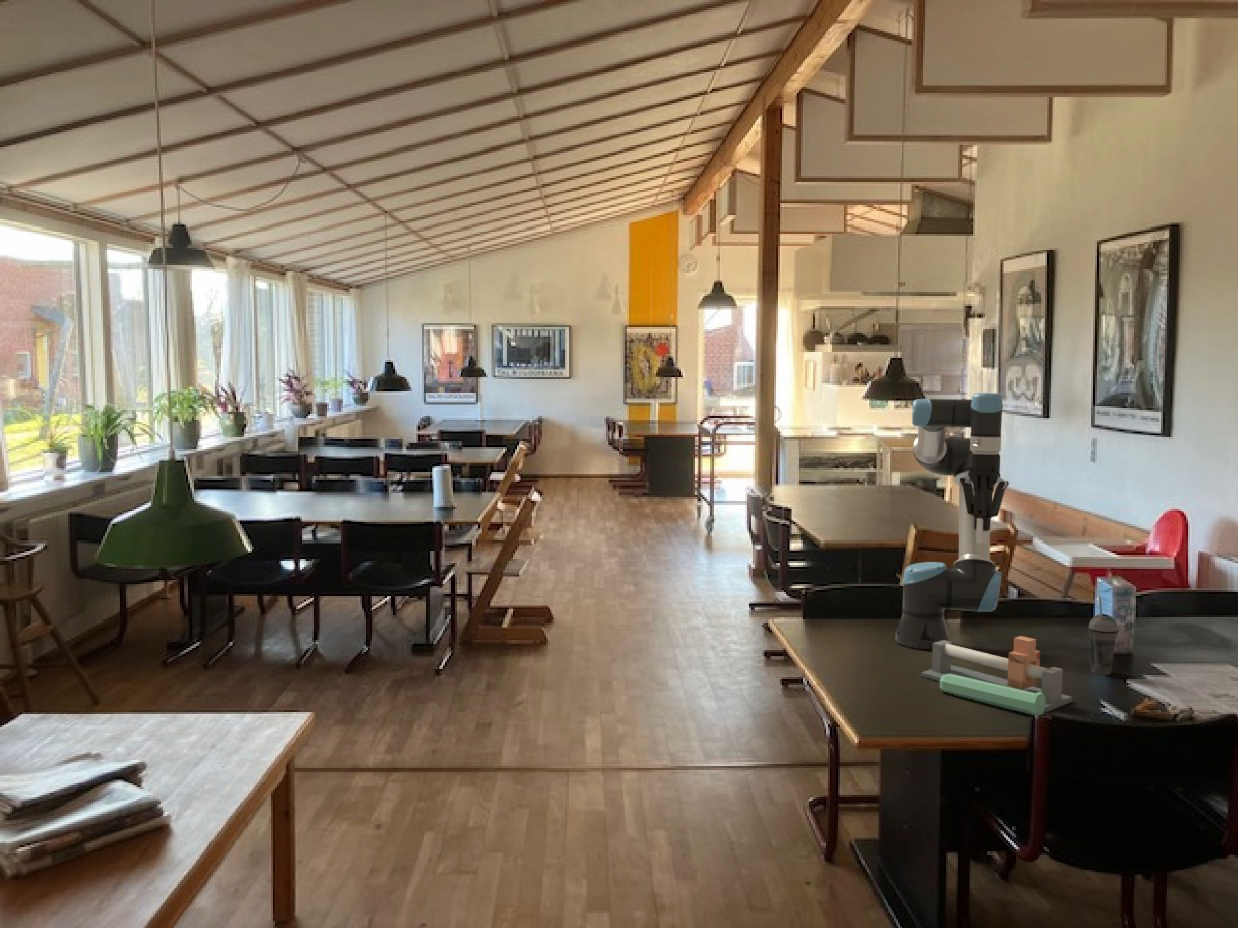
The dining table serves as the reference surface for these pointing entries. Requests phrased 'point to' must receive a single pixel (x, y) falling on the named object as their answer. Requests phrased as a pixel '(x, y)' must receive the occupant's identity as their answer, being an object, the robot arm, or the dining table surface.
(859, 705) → the dining table surface
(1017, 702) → the light green long prism
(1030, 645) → the collar
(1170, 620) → the dining table surface
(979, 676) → the rail
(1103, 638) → the beverage cup
